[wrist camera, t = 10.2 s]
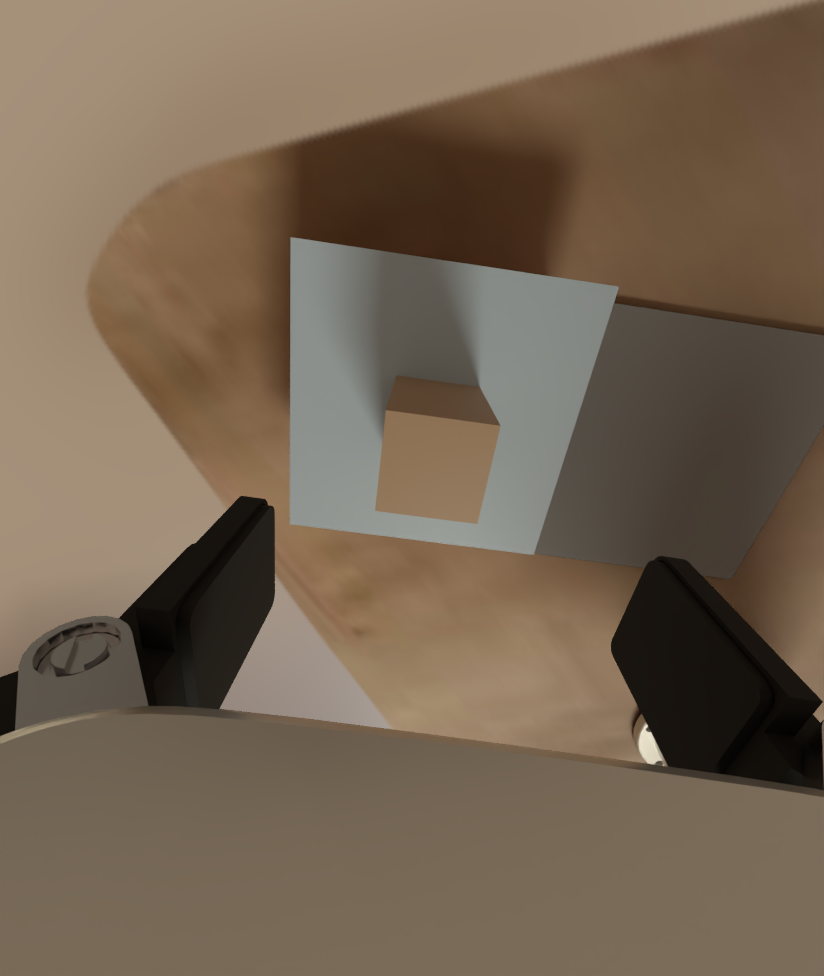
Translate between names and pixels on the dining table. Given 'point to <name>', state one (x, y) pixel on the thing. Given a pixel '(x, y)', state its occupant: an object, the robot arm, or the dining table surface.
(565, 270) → the dining table surface
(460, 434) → the lid
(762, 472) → the mat
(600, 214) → the dining table surface
